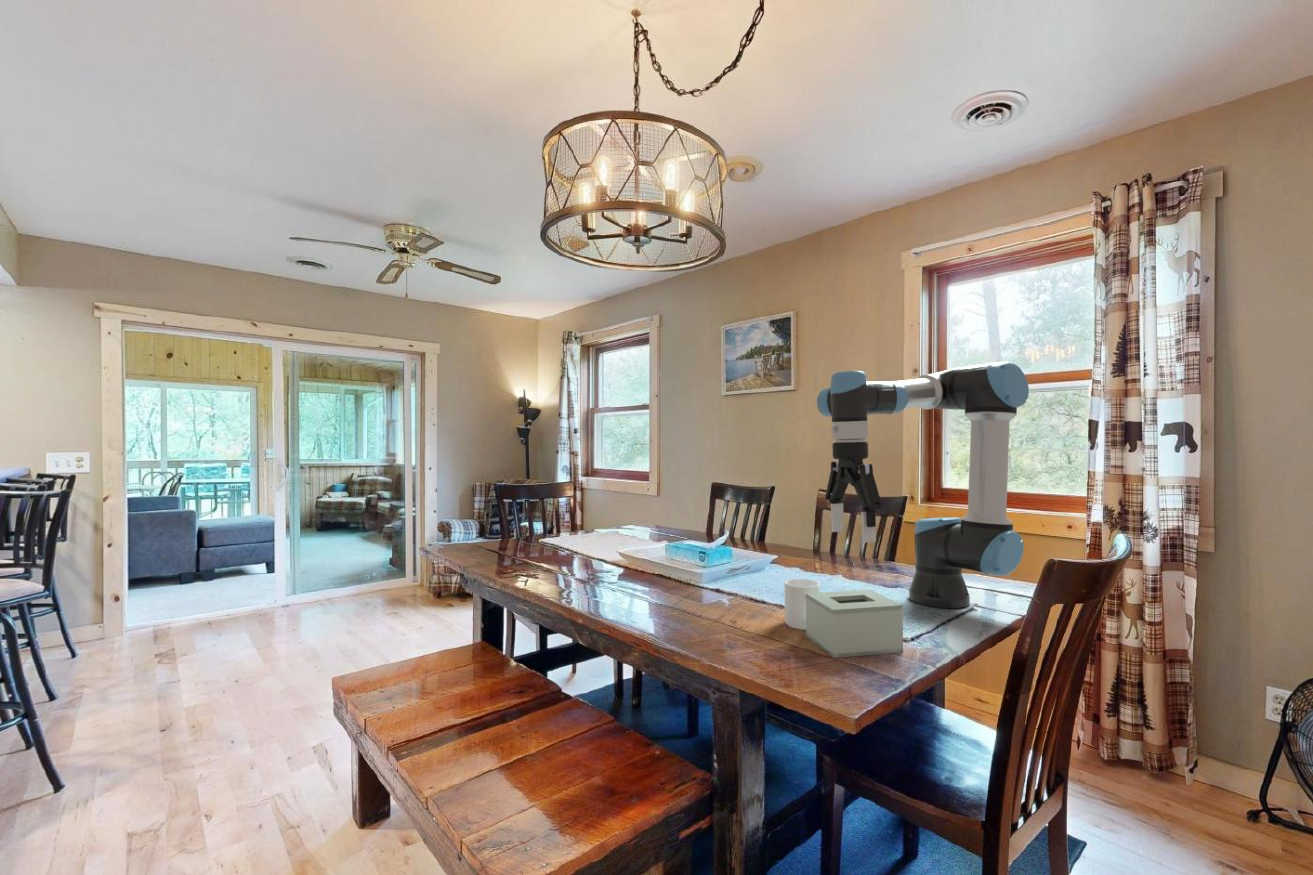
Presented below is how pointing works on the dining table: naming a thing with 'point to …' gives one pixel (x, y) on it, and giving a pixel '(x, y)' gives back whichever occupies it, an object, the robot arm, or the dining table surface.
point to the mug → (798, 601)
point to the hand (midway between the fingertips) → (852, 536)
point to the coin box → (854, 623)
